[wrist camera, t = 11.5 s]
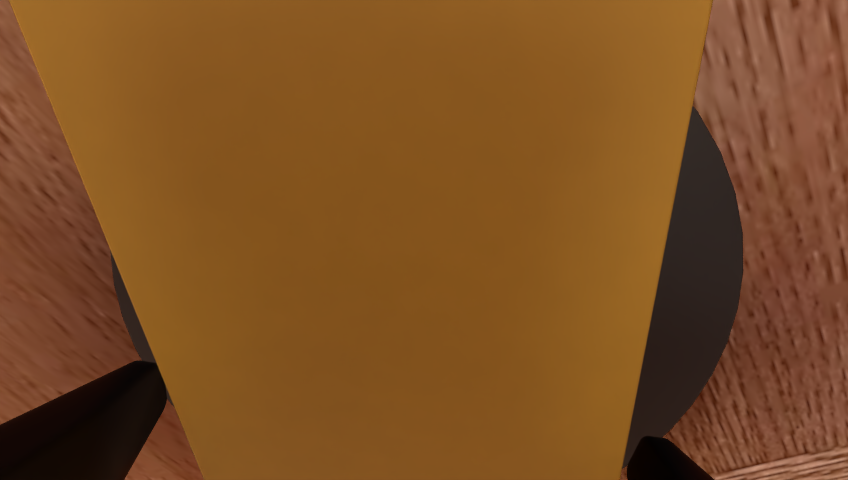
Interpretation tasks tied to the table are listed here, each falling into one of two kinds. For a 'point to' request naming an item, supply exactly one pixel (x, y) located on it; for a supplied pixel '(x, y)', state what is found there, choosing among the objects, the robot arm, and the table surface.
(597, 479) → the book
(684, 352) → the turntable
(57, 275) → the table surface
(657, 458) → the robot arm
